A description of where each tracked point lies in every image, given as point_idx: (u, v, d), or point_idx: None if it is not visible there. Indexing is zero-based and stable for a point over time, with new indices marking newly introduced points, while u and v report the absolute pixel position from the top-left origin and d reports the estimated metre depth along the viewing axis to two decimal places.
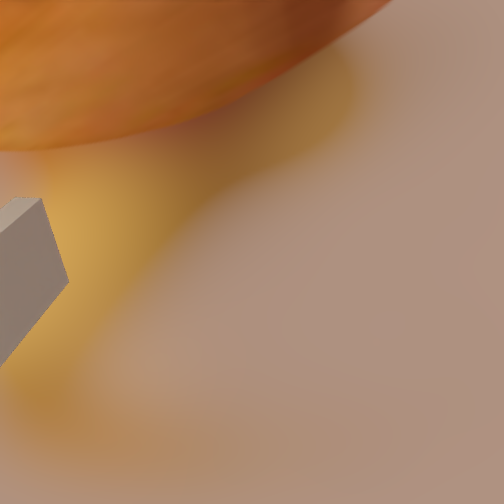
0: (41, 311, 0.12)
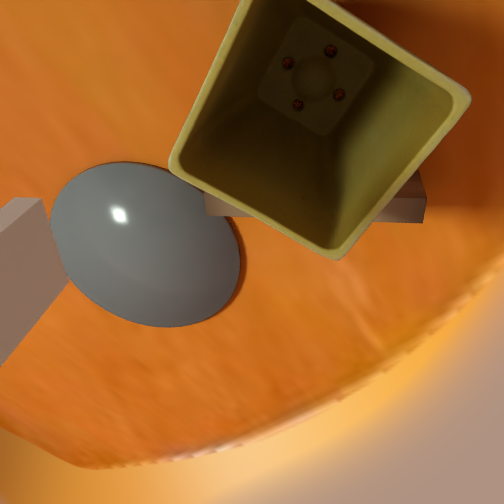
0: (41, 311, 0.12)
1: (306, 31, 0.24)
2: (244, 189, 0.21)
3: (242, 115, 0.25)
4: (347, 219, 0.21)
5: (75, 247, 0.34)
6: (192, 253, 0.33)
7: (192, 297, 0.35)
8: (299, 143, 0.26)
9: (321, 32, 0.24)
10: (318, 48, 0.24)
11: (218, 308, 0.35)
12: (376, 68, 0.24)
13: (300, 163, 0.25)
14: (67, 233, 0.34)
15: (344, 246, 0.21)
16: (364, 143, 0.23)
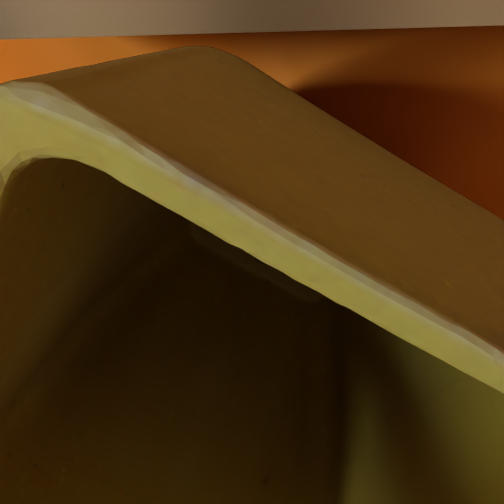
0: None
1: None
2: None
3: (157, 282, 0.13)
4: None
5: None
6: None
7: None
8: (266, 325, 0.14)
9: None
10: None
11: None
12: None
13: (267, 372, 0.13)
14: None
15: None
16: (390, 363, 0.12)
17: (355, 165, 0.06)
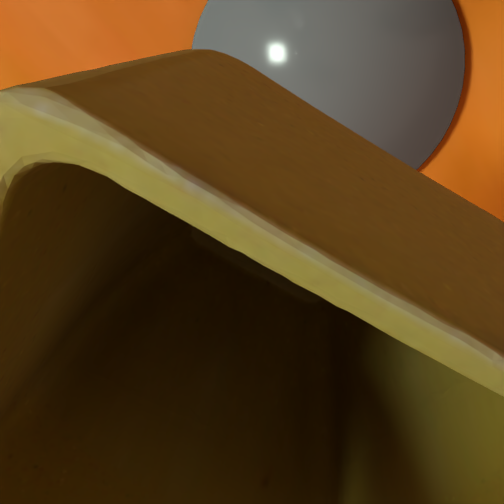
0: None
1: None
2: None
3: (158, 283, 0.13)
4: None
5: None
6: (394, 80, 0.24)
7: None
8: (267, 326, 0.14)
9: None
10: None
11: None
12: None
13: (267, 373, 0.13)
14: None
15: None
16: (389, 364, 0.12)
17: (355, 168, 0.06)
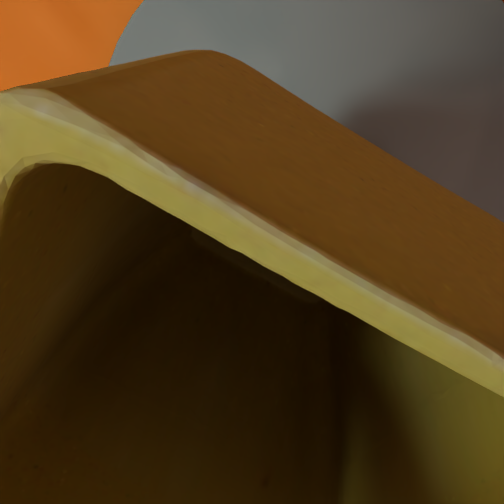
0: None
1: None
2: None
3: (158, 283, 0.13)
4: None
5: None
6: (422, 170, 0.15)
7: None
8: (267, 326, 0.14)
9: None
10: None
11: None
12: None
13: (267, 373, 0.13)
14: None
15: None
16: (389, 364, 0.12)
17: (355, 168, 0.06)
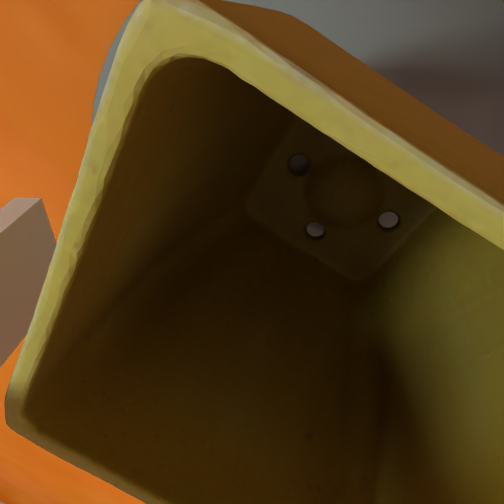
0: None
1: None
2: (179, 451, 0.10)
3: (214, 250, 0.14)
4: None
5: None
6: None
7: None
8: (313, 298, 0.15)
9: None
10: None
11: None
12: None
13: (312, 341, 0.14)
14: None
15: None
16: (434, 333, 0.12)
17: (419, 110, 0.07)
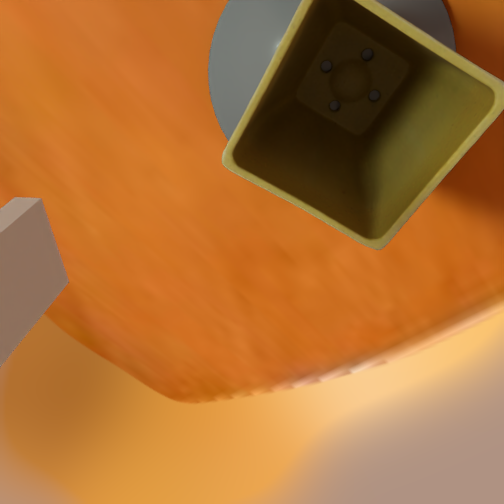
0: (41, 311, 0.12)
1: (345, 36, 0.25)
2: (291, 183, 0.22)
3: (283, 115, 0.26)
4: (388, 211, 0.23)
5: (237, 78, 0.28)
6: None
7: None
8: (336, 142, 0.27)
9: (359, 36, 0.25)
10: (356, 52, 0.25)
11: None
12: (411, 70, 0.25)
13: (338, 160, 0.26)
14: (232, 56, 0.27)
15: (386, 236, 0.22)
16: (401, 140, 0.25)
17: None
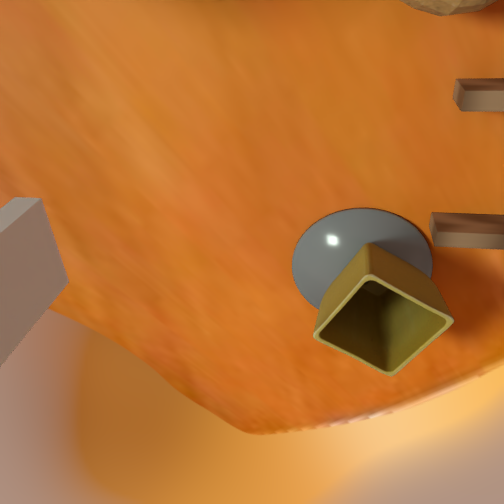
0: (41, 311, 0.12)
1: None
2: (346, 342, 0.43)
3: None
4: (396, 355, 0.44)
5: (309, 264, 0.49)
6: None
7: None
8: (366, 302, 0.48)
9: None
10: None
11: None
12: None
13: (367, 315, 0.47)
14: (307, 254, 0.48)
15: (395, 370, 0.43)
16: (402, 310, 0.46)
17: (397, 273, 0.40)
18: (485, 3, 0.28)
